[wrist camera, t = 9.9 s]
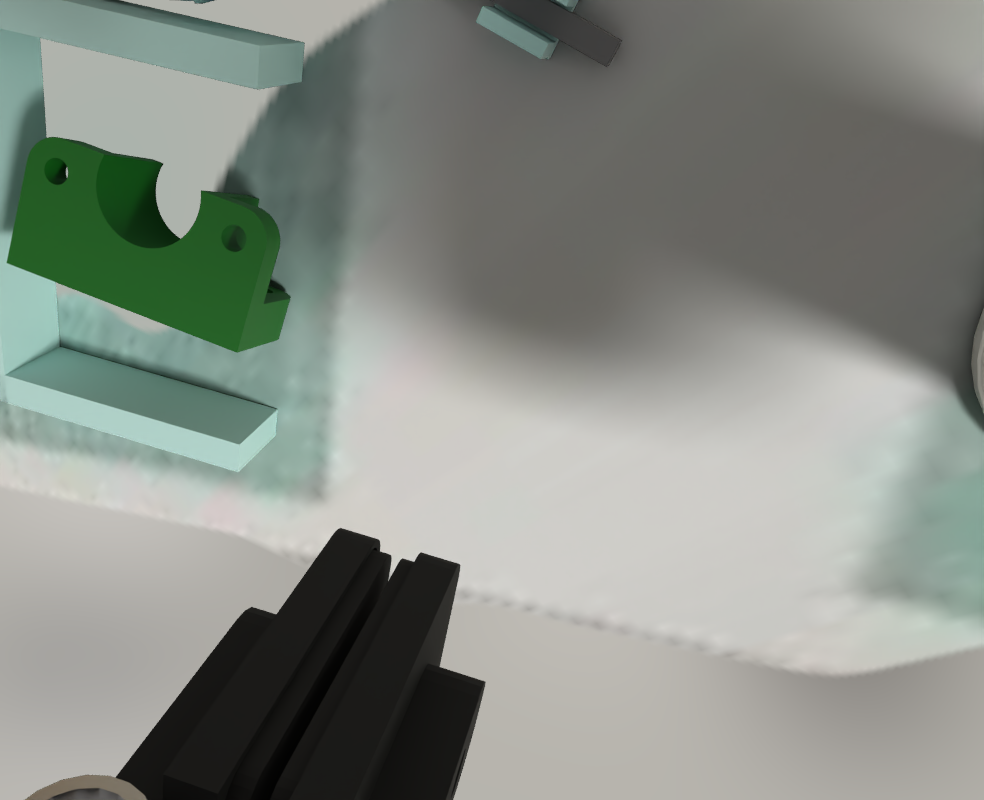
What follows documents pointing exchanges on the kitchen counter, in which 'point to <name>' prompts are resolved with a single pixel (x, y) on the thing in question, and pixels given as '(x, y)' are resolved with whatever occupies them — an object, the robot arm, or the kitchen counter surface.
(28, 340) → the end holder
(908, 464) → the kitchen counter surface
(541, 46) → the clip
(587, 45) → the cable
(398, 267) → the kitchen counter surface
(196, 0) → the clip
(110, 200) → the clamp
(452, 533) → the kitchen counter surface
